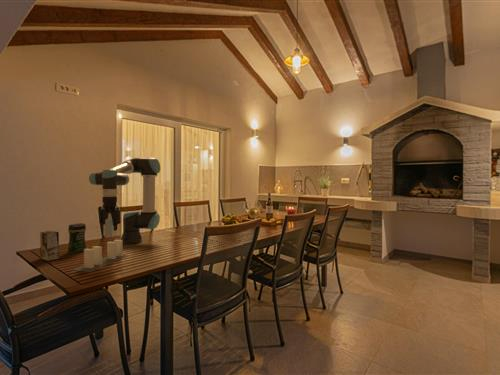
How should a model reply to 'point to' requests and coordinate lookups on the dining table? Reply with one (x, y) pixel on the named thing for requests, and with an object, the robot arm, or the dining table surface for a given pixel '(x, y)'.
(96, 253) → the domino
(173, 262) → the dining table surface
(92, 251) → the domino
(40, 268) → the dining table surface
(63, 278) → the dining table surface
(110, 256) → the domino
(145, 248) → the dining table surface
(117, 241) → the domino
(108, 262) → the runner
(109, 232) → the domino
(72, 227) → the coffee jar
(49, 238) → the coffee box
